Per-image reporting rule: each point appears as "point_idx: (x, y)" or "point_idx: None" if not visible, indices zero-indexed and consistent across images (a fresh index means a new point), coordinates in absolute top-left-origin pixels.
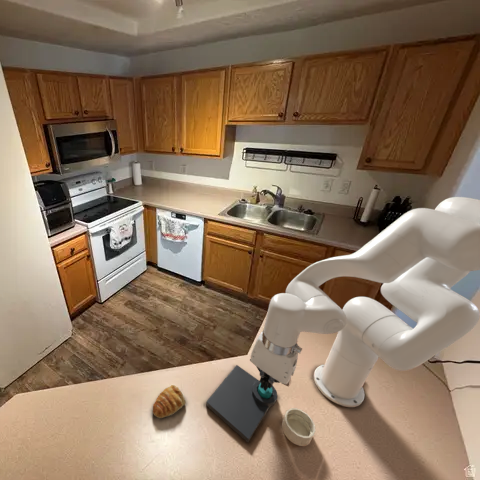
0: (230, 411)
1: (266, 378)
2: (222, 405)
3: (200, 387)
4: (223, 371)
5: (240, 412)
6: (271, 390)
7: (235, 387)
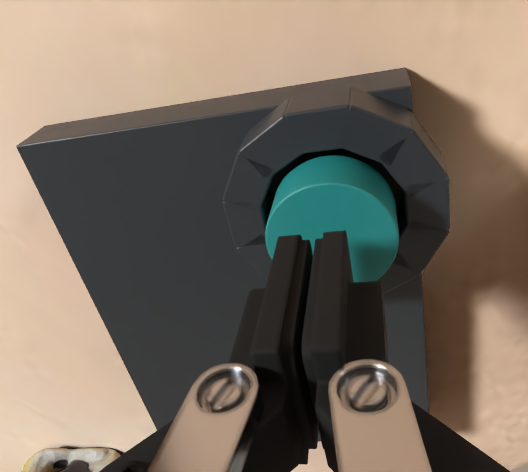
0: None
1: (309, 416)
2: None
3: (79, 368)
4: (35, 214)
5: None
6: (383, 220)
7: (173, 293)
